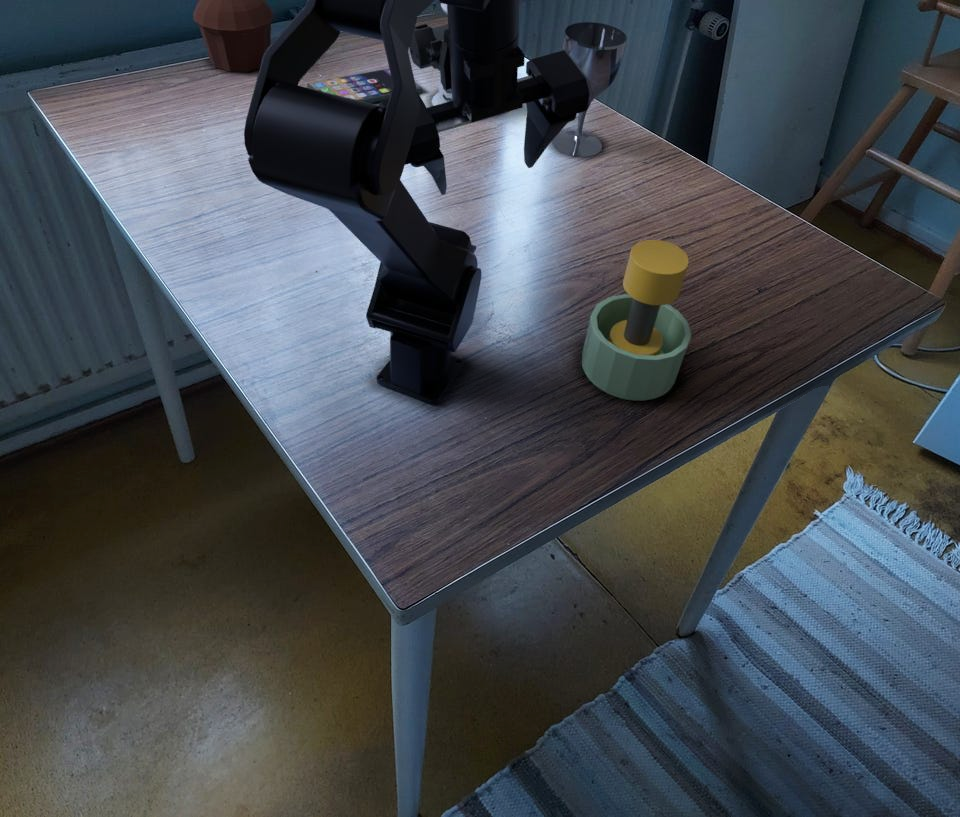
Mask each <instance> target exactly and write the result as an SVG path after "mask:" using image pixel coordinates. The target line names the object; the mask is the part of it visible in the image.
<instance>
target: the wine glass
mask: <svg viewBox="0 0 960 817" xmlns="http://www.w3.org/2000/svg"><path fill="white" fill-rule="evenodd" d="M562 40H563V42H562V49H561V51H563V50H565V51H566V52H567V53H568V54H569V55H571V57H572V58H573V59H574V61H575V62H576V63H577V65H578V66H579V67H580V69H581V70H582V71H583V72H584V74H585V75H586V76H587V78H588V79H589V80H590V84H591V88H592V94H591V102H590V104H591V103H592V102H593V101H594V100H595V99H596V98H597V97H599V95H601V94H602V93H603V92H605V91H606V90H607V89H609V87H610V86H611V85H612V84H613V82H614V81H615V79H616V77H617V75H618V73H619V70H620V67H621V65H622V62H623V58H624V54H625V50H626V45H627V40H628V37H627V35H626V34H625V32H624V31H622V30H621V29H620V28H617V27H615V26H612V25H609V24H606V23H601V22H595V21H581V22H576V23H572V24H570V25H568V26H566V28H565V29H564V35H563V39H562ZM587 112H588V110H587V111H584V112H581V113H577V114H578V116H577V125H576V131H575V130H573V131H562V132H559V133H558V135H557V136H556V137H555V138H554V139H553V140H552V141H551V144H552V146H553V147H554V149H556V150H557V151H559V152H560V153H562V154H565V155H568V156H572V157H577V158H578V157H579V158H586V157H592V156H595V155H598V154H600V152H601V151H602V149H603V144H602V142H601V140H599V139H598V138H597V137H596V136H594V135H592V134H589V133H586V132H583V130H584V129H583V128H584V123H585V118H586V116H587Z"/></svg>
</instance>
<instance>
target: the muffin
mask: <svg viewBox="0 0 960 817" xmlns="http://www.w3.org/2000/svg"><path fill="white" fill-rule="evenodd" d="M192 15H193V21H194V23H195V24H196V25H197V26H198V27H199V31H200V33H201V36H202V39H203V42H204V45H205V48H206V49H205V50H206V52H207V55H208V58H209V60H210V62H211V63H212V64H213V66H214V68H216V69H220V70H224V71H226V72H229V73H237V72H238V73H239V72H241V73H250V72H252V71H253V72H254V71H256V70H260V66H261V62H262V58H263V55H264V53H265V51H266V49H267V48H268V47H269V46H270V45H271V40H272V38H271V36H272V34H271V33H272V22H273V20H274V19H275V14H274V11H273V9H272V8H271V6H270V4H269V3H268V2H267V0H198V2H197V4H196V6H195V8H194V11H193V13H192Z"/></svg>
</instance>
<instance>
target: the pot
mask: <svg viewBox="0 0 960 817" xmlns="http://www.w3.org/2000/svg"><path fill="white" fill-rule="evenodd" d="M632 301H633V298H632V297H631V296H630V295H628V293H623V294H618V295H612V296H609V297H606V299H604V300H602V301H600V302H599V303H597V304H596V305H595V306H594V309H593V310H592V312H591V313H590V317H589V321H588V325H587V331H586V335H585V338H584V344H583V347H582V352H581V355H582V357H581V366H582V369H583V372H584V374H585V376H586V377H587V379H588V380H589V381H590V382H591V383H592V384H593V385H594V386H595V387H596V388H598V390H601V392H604V393H606V394H608V395H610V396H613V397H615V398H618V399H621V400H626V401H627V400H628V401H635V402H636V401H637V402H638V401H639V402H640V401H641V402H643V401H650V400H654V399H657V398H660V397H662V396H664V395H666V394H667V393H668V392H670V391H671V389H672V388H673V387H674V385H675V383H676V380H677V377H678V376H679V373H680V371H681V368H682V364H683V362H684V359H685V356H686V353H687V350H688V348H689V344H690V341H691V339H692V332H691V328H690V324H689V322H688V320H687V319H686V318H685V317H684V315H683V314H682V313H681V312H680V310H678V309H677V308H675V307H673V306H671V305H670V304H666V305H660V309H659V312H658V315H657V318H656V322H655V325H654V327H655V328H656V329H657V330H658V331H659V332H660V334H661V335H662V338H663V345H662V348H661V352H660V355H656V356H651V355H638V354H634V353H631V352H628V351H625V350H622V349H620V348H618V347H617V346H615V345H614V344H612V343H611V342H609V341H608V339H609V335H610V331H611V329H612V327H613V326H614V325H615V324H617V323H618V322H621V321H625V320H627V319H628V316H629V312H630V308H631V305H632Z"/></svg>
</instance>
